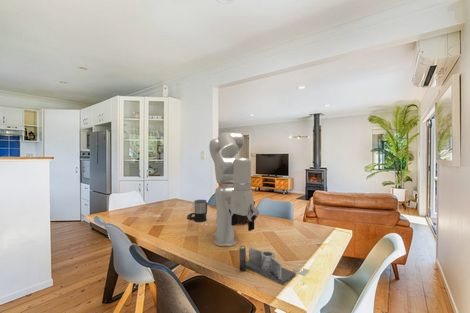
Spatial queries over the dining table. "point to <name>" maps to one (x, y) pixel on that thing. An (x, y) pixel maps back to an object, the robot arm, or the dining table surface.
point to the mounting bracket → (302, 271)
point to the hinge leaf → (273, 267)
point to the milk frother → (199, 211)
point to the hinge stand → (257, 267)
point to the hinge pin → (242, 258)
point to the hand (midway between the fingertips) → (242, 227)
